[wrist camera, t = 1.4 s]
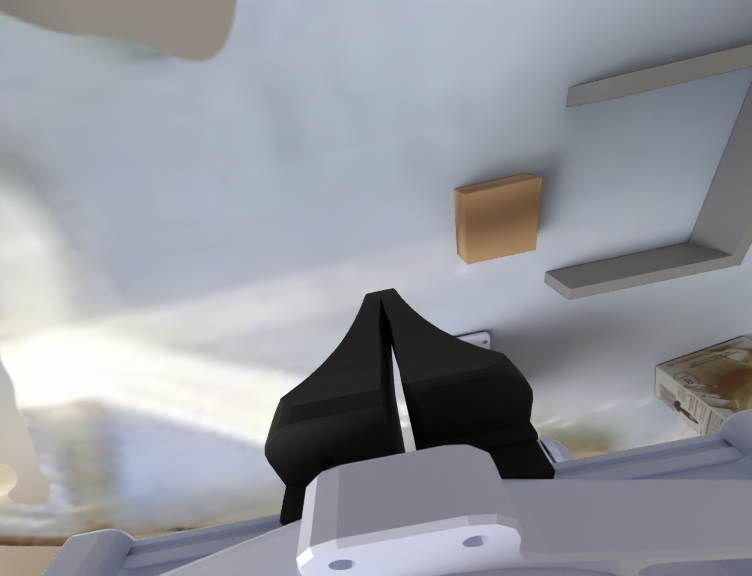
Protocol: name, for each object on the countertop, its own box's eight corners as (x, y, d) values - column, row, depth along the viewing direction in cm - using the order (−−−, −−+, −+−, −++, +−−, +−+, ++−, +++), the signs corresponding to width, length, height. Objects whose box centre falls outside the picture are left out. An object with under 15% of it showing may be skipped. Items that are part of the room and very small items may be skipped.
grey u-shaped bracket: (695, 250, 23) (740, 264, 20) (544, 282, 23) (568, 300, 21) (785, 36, 16) (870, 16, 13) (569, 87, 16) (609, 77, 14)
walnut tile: (517, 238, 21) (535, 249, 19) (456, 251, 22) (467, 264, 19) (521, 173, 19) (542, 177, 17) (452, 188, 19) (464, 194, 17)
